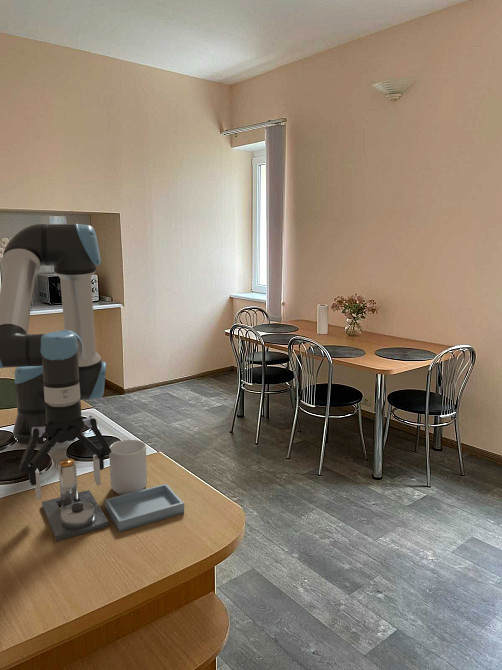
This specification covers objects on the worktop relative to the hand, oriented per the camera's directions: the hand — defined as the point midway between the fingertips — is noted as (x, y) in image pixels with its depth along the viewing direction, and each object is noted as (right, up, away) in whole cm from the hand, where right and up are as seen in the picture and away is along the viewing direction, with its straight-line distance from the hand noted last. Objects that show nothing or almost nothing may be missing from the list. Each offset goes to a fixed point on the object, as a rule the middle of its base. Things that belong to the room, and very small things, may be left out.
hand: (68, 489), depth 123 cm
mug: (+11, -3, +12) cm, 17 cm away
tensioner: (+2, -5, -2) cm, 6 cm away
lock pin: (0, -5, +1) cm, 5 cm away
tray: (+18, -5, 0) cm, 18 cm away
